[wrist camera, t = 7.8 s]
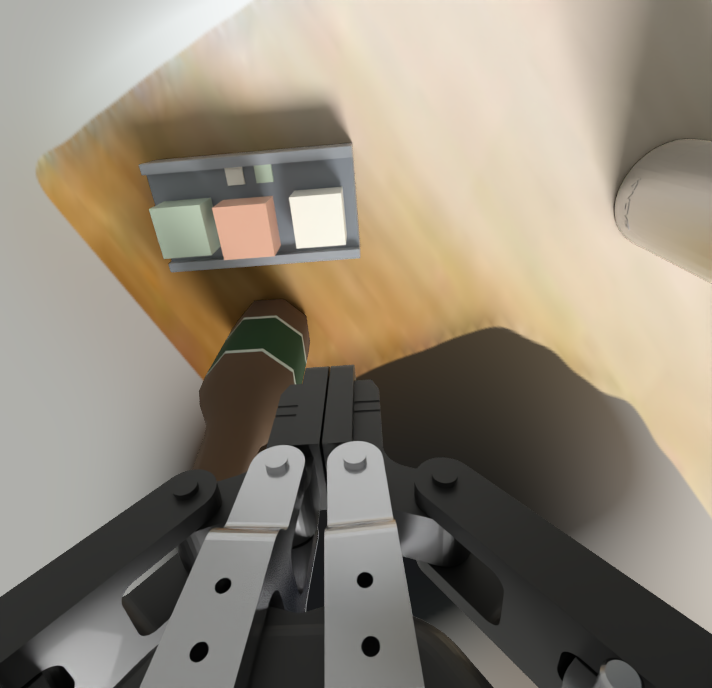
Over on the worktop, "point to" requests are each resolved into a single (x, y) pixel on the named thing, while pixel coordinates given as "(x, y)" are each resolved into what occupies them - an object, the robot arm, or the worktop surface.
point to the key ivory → (318, 217)
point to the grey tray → (261, 194)
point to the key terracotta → (247, 227)
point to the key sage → (185, 228)
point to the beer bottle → (250, 385)
